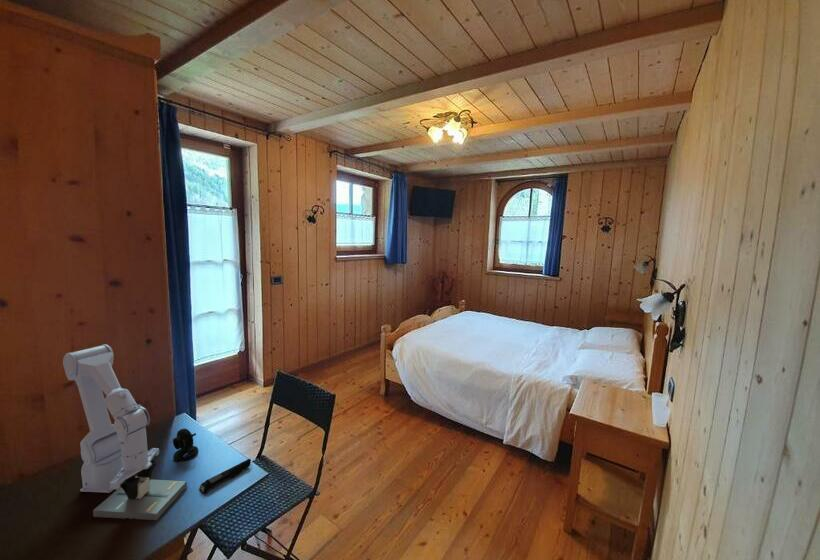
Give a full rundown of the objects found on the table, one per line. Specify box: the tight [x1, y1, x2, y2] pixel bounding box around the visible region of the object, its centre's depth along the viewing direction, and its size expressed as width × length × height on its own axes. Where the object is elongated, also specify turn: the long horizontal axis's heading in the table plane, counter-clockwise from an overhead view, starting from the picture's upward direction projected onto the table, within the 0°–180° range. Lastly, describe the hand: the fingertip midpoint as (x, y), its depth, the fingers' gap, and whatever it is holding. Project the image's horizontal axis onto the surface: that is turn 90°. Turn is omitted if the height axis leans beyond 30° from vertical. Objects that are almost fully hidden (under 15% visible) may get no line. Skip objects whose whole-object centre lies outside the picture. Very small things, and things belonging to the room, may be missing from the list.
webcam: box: [172, 428, 199, 463], centre depth 116 cm, size 8×8×10 cm
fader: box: [127, 477, 150, 499], centre depth 96 cm, size 4×4×4 cm
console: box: [92, 478, 188, 521], centre depth 97 cm, size 18×12×2 cm, turn 89°
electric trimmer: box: [198, 458, 252, 495], centre depth 107 cm, size 4×16×3 cm, turn 143°
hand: (138, 492), depth 96 cm, fingers closed on fader, 3 cm apart
